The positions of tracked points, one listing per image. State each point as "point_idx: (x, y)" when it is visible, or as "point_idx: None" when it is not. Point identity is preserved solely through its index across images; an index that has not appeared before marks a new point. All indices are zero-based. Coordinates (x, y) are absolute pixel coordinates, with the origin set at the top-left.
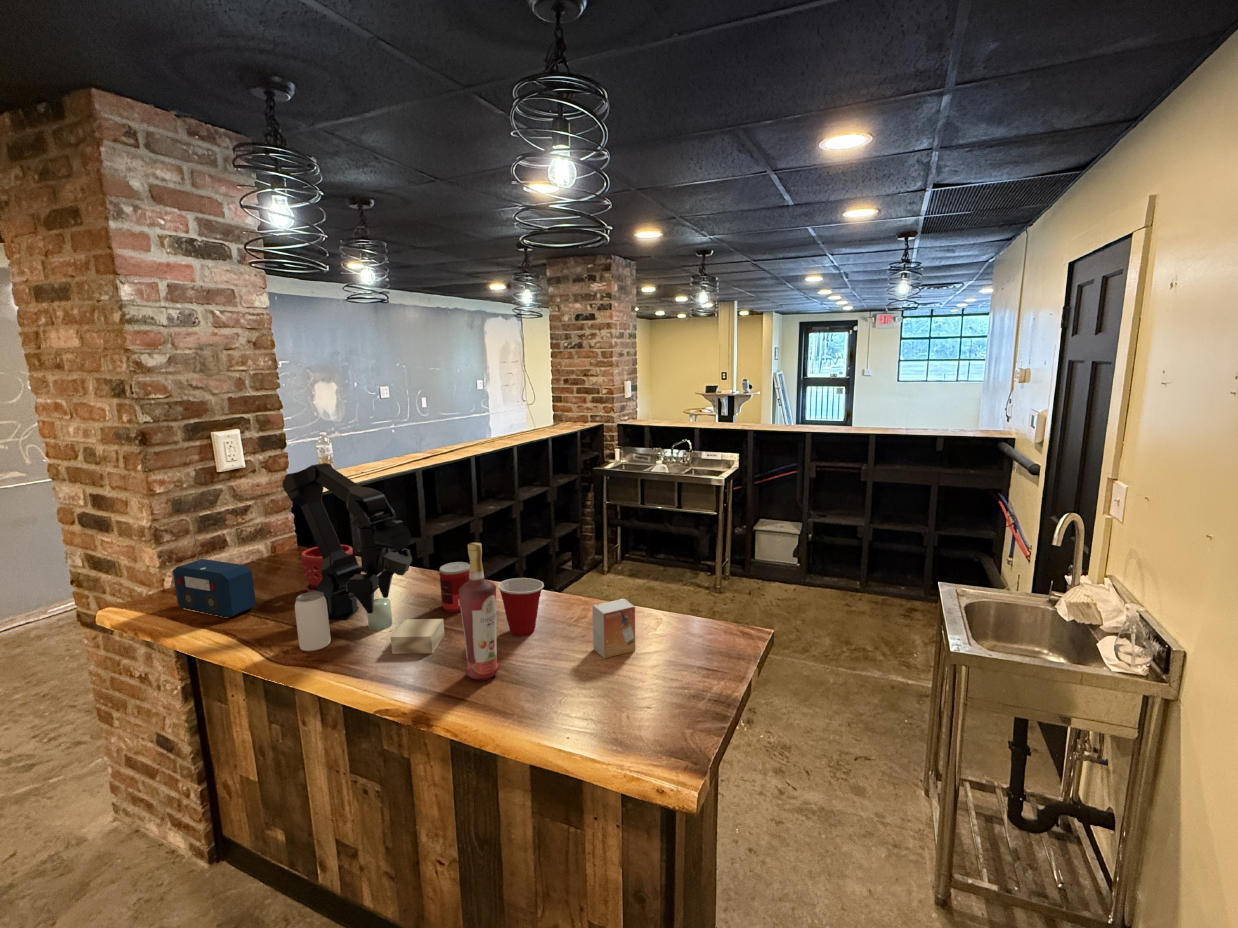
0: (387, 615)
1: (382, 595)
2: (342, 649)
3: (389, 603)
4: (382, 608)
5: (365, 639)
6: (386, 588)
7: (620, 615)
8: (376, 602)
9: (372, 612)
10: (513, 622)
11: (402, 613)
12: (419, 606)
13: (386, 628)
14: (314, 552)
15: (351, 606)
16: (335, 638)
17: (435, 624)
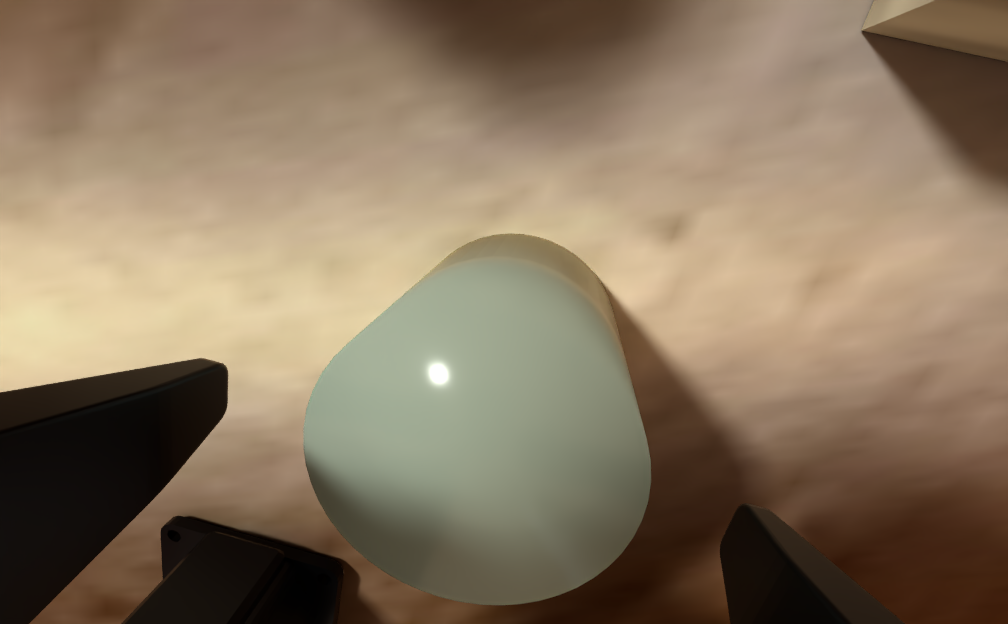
0: (584, 293)
1: (201, 441)
2: (891, 553)
3: (513, 309)
4: (630, 389)
5: (771, 419)
6: (84, 447)
7: None
8: (449, 495)
9: (761, 507)
10: None
11: (279, 169)
12: (120, 7)
13: (595, 275)
14: None
15: (248, 607)
16: (656, 604)
17: None
